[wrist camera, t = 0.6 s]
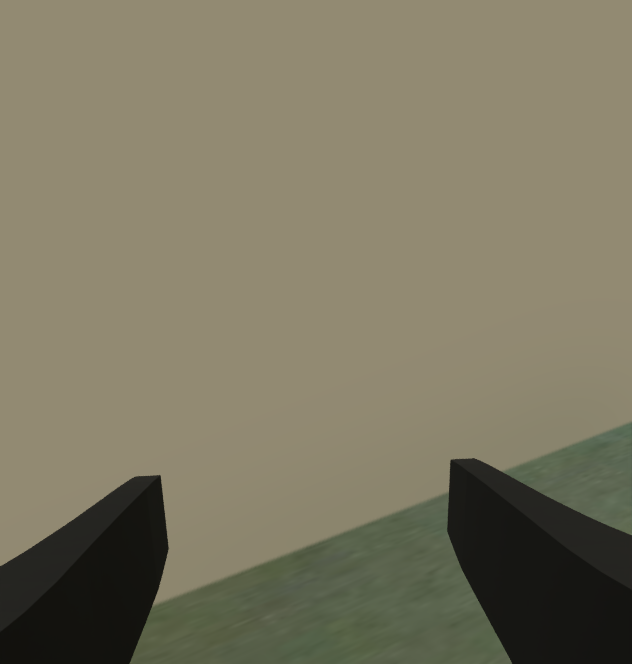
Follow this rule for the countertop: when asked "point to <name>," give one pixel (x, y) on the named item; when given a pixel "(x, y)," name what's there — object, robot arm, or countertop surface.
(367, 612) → the countertop surface
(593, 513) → the countertop surface
